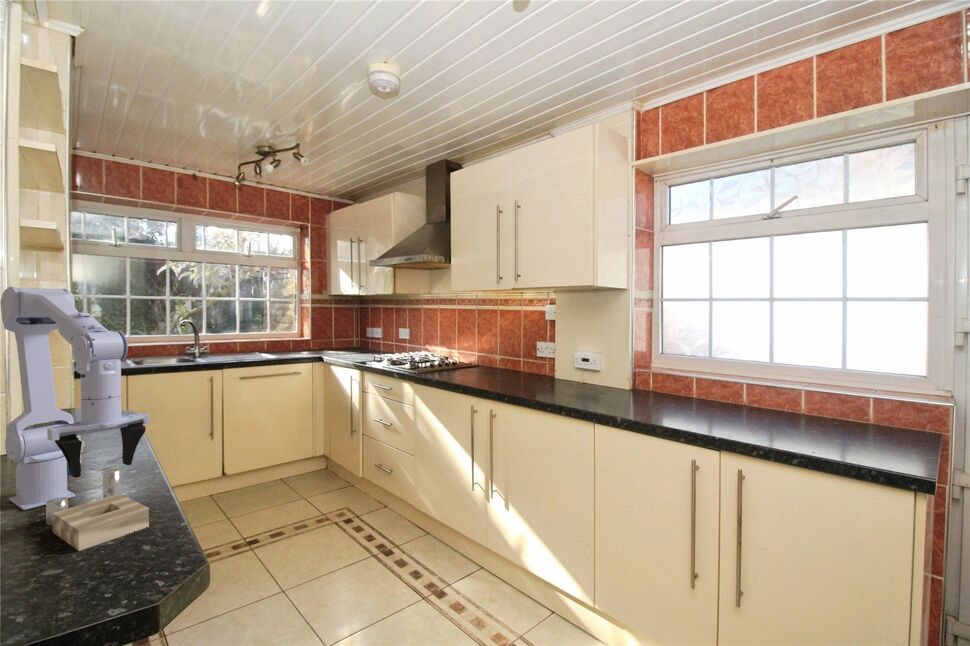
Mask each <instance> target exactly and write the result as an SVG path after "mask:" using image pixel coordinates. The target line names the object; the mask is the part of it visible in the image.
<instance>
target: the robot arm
mask: <svg viewBox="0 0 970 646" xmlns="http://www.w3.org/2000/svg"><path fill="white" fill-rule="evenodd" d="M0 311H1V321H2V324H3V328H4V330H7V331H10V332H13V333H14V336H15V341H16V348H17V357H18V365H19V366H18V367H19V375H20V376H19V377H20V384H21V393H22V403H23V412H22V413H21V414H19V415H18V416H16V417H15V418H14V419H13V420H11V421H10V422H9V423H8V424H7V425H6V429H5V432H6V434H5V440H4V447H5V453H6V455H7V457H8V459H10V460H12V461H13V462H18V463H17V465H16V467H15V496H12V497H9V501H10V502H11V503H13V504H14V505H16V506H17V507H19V508H20V510H23V511H26V510H30V509H34V508H38V507H43V506H46V502H47V501H49V500H51V499H54V498H59V497H67V498H68V499H71V498H75V497H76V494H75V493H73V492H72V491H70V490H68V476H67V462H68V465H69V468H70V471H71V476H70V477H72V478H75V479H76V478H81V474H82V471H81V466H80V453H81V445H82V441H80V440H78V435H81V436H82V435H88V434H93V433H94V434H95V433H98V432H106V431H110V430H116V429H119V430H120V435H121V443H122V452H121V453H122V464H124V465H126V466H132V464H133V460H134V455H135V452H136V450H137V447H138V445H139V443H140V441H141V439H142V437H143V435H145V432H146V429H147V427H146V425H148V424H150V413H147V412H142V413H141V412H140V413H132V414H123V415H122V362H123V361H124V360H125V359H126V358H127V355H128V351H129V345H128V343H129V342H128V340H127V337H126V335H125V334H124V332H123V331H122V330H108V329H107V328H106V327H105V326H104V325H103V324H102V323H100V322H99V321H98V320H97V319H95V317H93V316H92V315H91V314H90V313H89V312H79V311H78V309H77V308H76V301H75V297H74V295H73V292H72V291H70V289H68V288H60V289H59V288H33V287H16V286H8V287H6V289H4V291H3V292H2V294H1V298H0ZM57 329H58V333H59V334H60V336H61V337H62V338H63V339H64V340H65V341H66V342H67V343H69V345H70V346H72V354H73V359H74V360H75V366H76V367H75V368H76V371H77V374H80V420H81V421H77V422H75V421H74V416H73V415H72V414H70V413H69V412H67V411H65V410H62V409H59V408H57V399H56V391H55V381H54V373H53V365H52V355H51V349H50V348H51V347H50V338H49V335H50V333H51V332H52V331H55V330H57ZM45 423H51V424H45ZM38 424H45V425H39V426H34V425H38ZM32 425H33V426H32ZM29 426H32V427H29ZM81 454H82V453H81Z"/></svg>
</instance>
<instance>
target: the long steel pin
mask: <svg viewBox="0 0 970 646" xmlns="http://www.w3.org/2000/svg"><path fill="white" fill-rule="evenodd" d="M122 472H123V471H122V468H119V467H118V468H117V467H116V468H110V469H106V470H103V471H102V473H101V474H102V499H104V498H107V497H111V496H114V495H118V494H122V495H123V483H122V482H123V481H122V480H123V477H122V476H123V475H122V474H123V473H122Z"/></svg>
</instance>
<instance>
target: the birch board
mask: <svg viewBox="0 0 970 646" xmlns="http://www.w3.org/2000/svg"><path fill="white" fill-rule="evenodd" d="M149 512H150V507H148V506H146V505H144V504H142V503H140V502H137V501H136V500H134V499H131V498H130V497H128V496H125V495H123V493H122V494H118V495H114V496H111V497H107V498H104V499H103V498H101V499H97V500H94V501H91V502H86V503H83V504H80V505H75V506H72V507H68V509H65V510H61V511H58V512H54V513H52V516H53V525H52V534H54V535H56V536H58V537H59V538H60V539H61V540H63V541H64V542H66V543H67V544H68V545H69V546H71V547H72V548H74V549H75V550H76V551H78V552H81V551H84V550H86V549H89V548H92V547H95V546H97V545H101V544H103V543H107V542H110V541H113V540H115V539H118V538H121V537H124V536H127V535H130V534H132V533H135V532H138V531H140V530H144V529H147V528H150V513H149ZM146 527H147V528H146ZM134 531H135V532H134ZM129 533H130V534H129ZM126 534H127V535H126Z"/></svg>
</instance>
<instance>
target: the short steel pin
mask: <svg viewBox="0 0 970 646" xmlns="http://www.w3.org/2000/svg"><path fill="white" fill-rule="evenodd" d="M68 508H69V498H67V497H59V498H54V499H51V500H49V501H47V502H46V505H45V513H46V514H45V516H46V517H45V518H46V519H45V522H46V525H48V526H53V516H52V513H54V512H58V511H61V510H65V509H68Z"/></svg>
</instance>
